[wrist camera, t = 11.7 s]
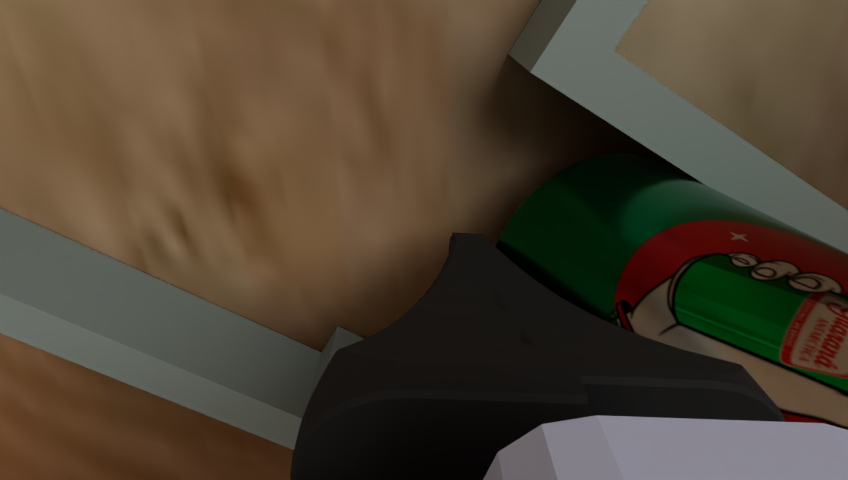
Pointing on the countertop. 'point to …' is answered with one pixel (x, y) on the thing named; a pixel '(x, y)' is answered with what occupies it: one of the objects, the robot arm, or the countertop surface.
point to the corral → (303, 366)
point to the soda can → (693, 275)
